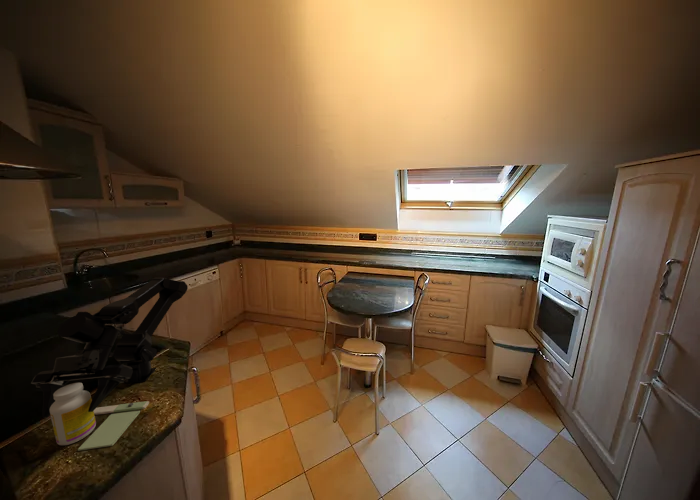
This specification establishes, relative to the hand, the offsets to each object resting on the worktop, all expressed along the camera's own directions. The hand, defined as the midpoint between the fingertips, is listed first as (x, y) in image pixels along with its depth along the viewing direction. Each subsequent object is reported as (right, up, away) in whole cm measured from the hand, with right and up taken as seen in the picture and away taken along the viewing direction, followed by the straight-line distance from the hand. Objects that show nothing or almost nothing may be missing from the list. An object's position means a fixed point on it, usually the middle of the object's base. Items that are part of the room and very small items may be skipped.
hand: (67, 414), depth 58 cm
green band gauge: (+3, -6, +4) cm, 8 cm away
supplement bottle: (0, -7, +2) cm, 7 cm away
